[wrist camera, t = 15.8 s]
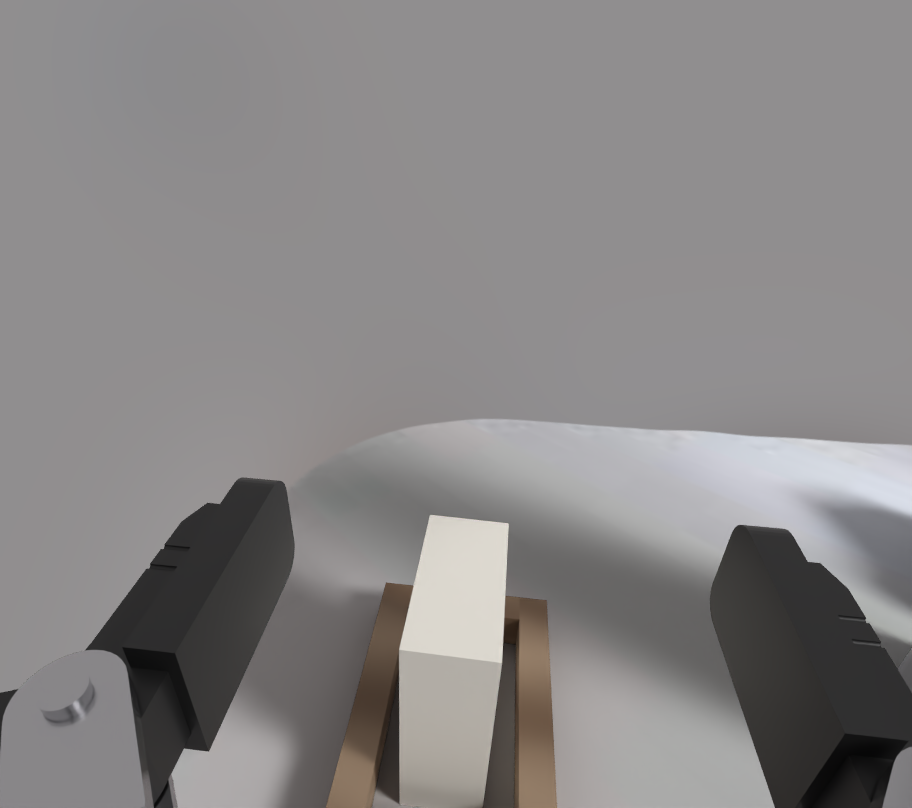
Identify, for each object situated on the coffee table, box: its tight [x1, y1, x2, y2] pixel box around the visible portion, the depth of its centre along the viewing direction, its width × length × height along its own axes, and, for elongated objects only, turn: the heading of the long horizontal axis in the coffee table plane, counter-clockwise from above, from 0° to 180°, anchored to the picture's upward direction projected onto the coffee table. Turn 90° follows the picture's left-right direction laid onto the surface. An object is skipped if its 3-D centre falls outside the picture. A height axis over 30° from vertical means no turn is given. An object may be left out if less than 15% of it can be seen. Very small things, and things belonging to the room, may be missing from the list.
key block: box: [399, 515, 509, 808], centre depth 25 cm, size 4×7×10 cm, turn 174°
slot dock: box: [326, 583, 557, 808], centre depth 27 cm, size 13×9×2 cm
